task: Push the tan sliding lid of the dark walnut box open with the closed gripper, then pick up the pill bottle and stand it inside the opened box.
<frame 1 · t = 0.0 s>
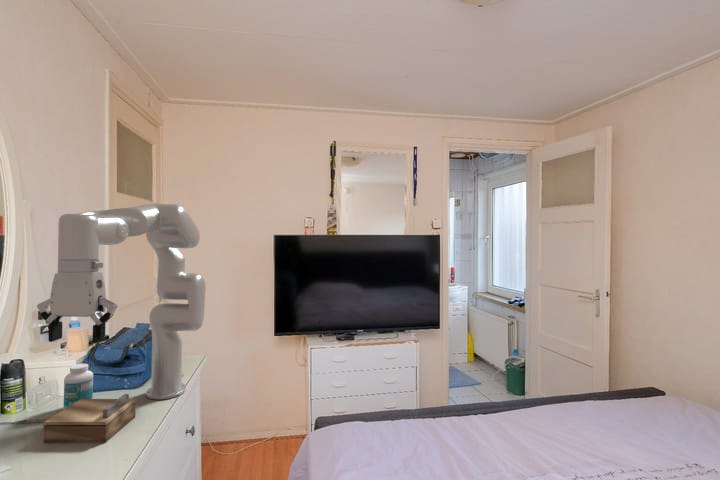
hand: (77, 340, 86), 31 cm above the dresser top, tool pointing down, fingers open, 9 cm apart
lid: (93, 406, 105), point 6 cm above the dresser top, slide at 0.0 cm
box: (92, 429, 105), on the dresser top
pill bottle: (78, 408, 118), on the dresser top
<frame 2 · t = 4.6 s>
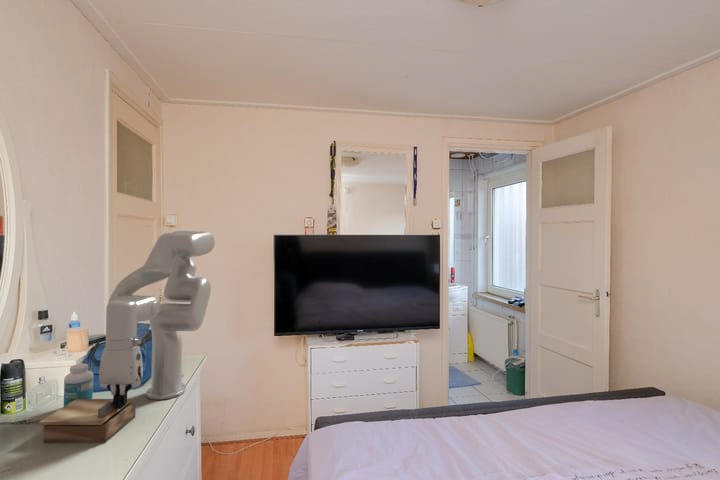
hand: (120, 406, 106), 6 cm above the dresser top, tool pointing down, fingers closed
lid: (88, 406, 105), point 6 cm above the dresser top, slide at 1.3 cm, touching gripper
everything else where it was.
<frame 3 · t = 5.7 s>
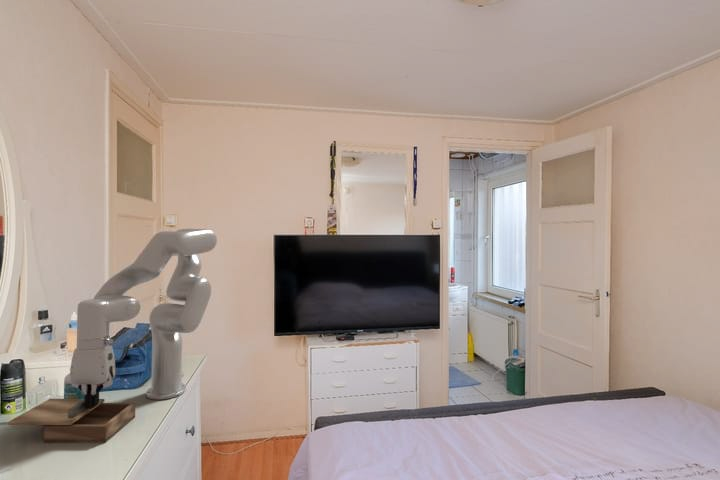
hand: (91, 406, 105), 6 cm above the dresser top, tool pointing down, fingers closed
lid: (59, 406, 105), point 6 cm above the dresser top, slide at 9.2 cm, touching gripper
everything else where it was.
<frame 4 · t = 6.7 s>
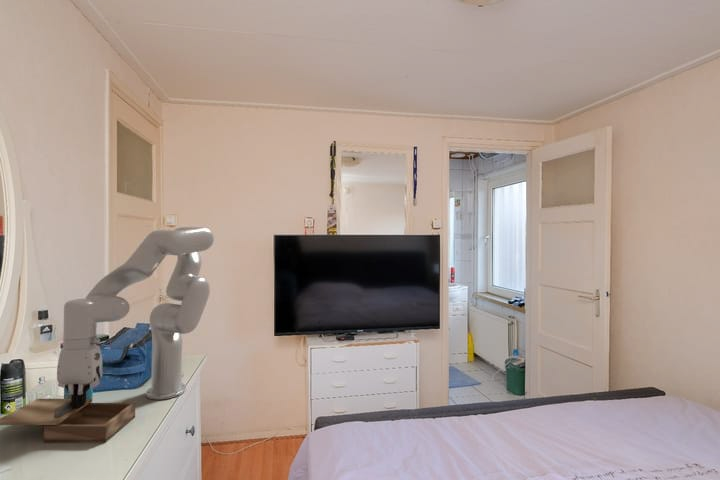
hand: (78, 406, 105), 6 cm above the dresser top, tool pointing down, fingers closed
lid: (46, 406, 105), point 6 cm above the dresser top, slide at 12.8 cm, touching gripper
everything else where it was.
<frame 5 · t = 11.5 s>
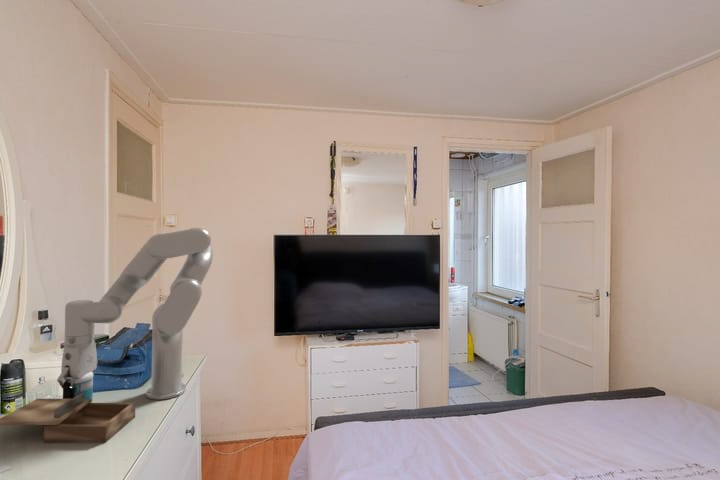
hand: (78, 394, 118), 4 cm above the dresser top, tool pointing down, fingers closed on pill bottle, 7 cm apart
lid: (46, 406, 105), point 6 cm above the dresser top, slide at 12.9 cm
pill bottle: (78, 408, 118), on the dresser top, touching gripper
when the fingers open (6 cm above the dresser top, at t = 17.7 s): pill bottle stays where it is, resting on box.
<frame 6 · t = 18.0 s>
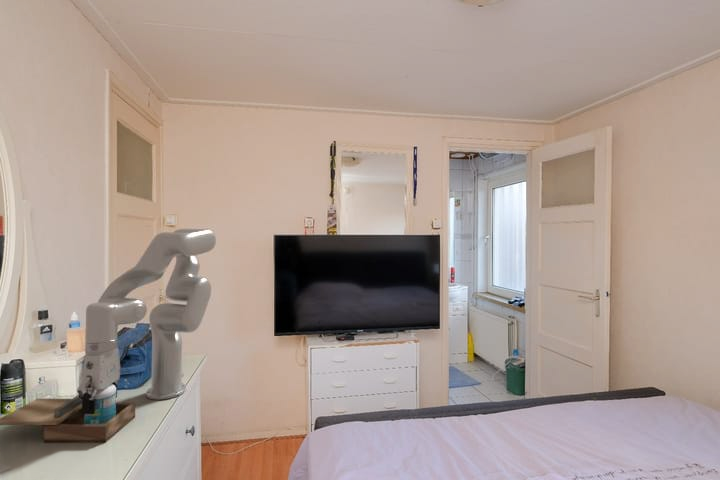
hand: (100, 405, 105), 7 cm above the dresser top, tool pointing down, fingers open, 9 cm apart
pill bottle: (100, 426, 106), point 1 cm above the dresser top, touching box
everything else where it was.
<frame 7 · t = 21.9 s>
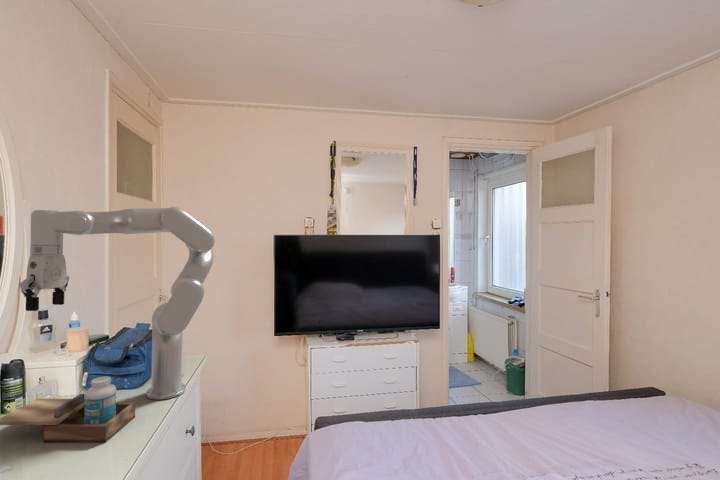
hand: (45, 307, 111), 33 cm above the dresser top, tool pointing down, fingers open, 9 cm apart
nothing on the dresser top moved.
at the end: lid slide at 12.9 cm; pill bottle inside the target area (1.5 cm from its centre), point 0.6 cm above the dresser top; pill bottle tilted 0° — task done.
